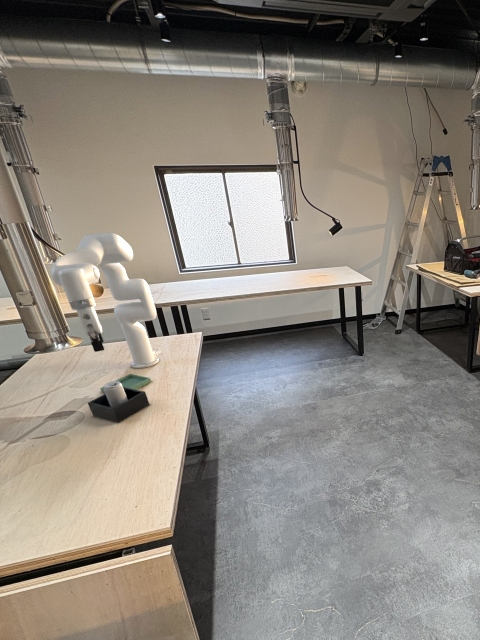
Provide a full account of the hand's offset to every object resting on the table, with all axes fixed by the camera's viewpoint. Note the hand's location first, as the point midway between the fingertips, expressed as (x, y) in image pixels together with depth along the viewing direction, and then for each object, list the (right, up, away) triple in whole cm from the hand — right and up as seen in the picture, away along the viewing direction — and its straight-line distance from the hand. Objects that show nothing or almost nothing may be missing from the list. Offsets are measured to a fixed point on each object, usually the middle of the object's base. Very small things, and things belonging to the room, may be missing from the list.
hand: (99, 346), depth 157 cm
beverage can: (+1, -25, +12) cm, 28 cm away
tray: (-9, -16, +31) cm, 36 cm away
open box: (+1, -25, +12) cm, 28 cm away
